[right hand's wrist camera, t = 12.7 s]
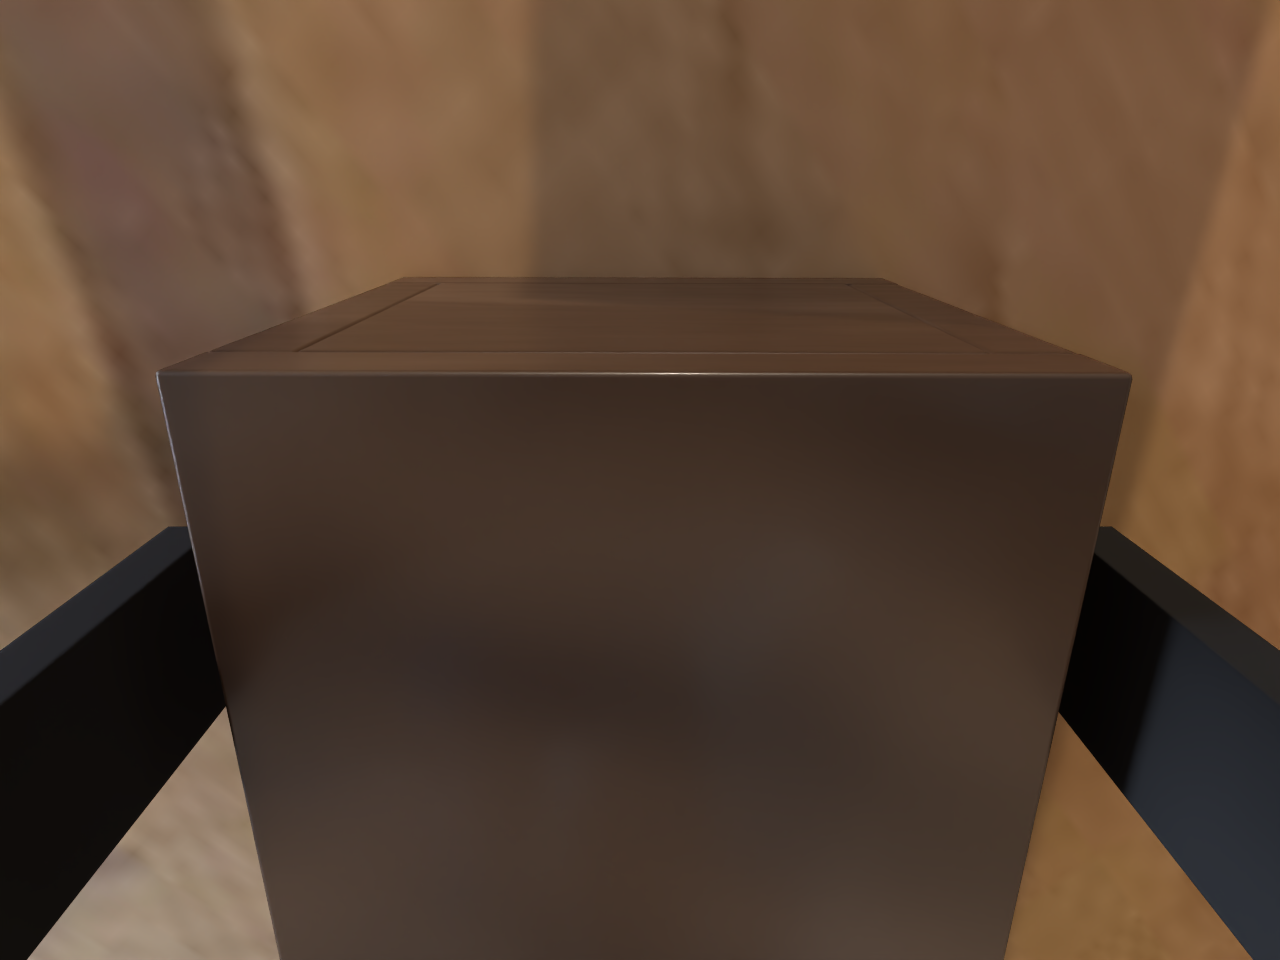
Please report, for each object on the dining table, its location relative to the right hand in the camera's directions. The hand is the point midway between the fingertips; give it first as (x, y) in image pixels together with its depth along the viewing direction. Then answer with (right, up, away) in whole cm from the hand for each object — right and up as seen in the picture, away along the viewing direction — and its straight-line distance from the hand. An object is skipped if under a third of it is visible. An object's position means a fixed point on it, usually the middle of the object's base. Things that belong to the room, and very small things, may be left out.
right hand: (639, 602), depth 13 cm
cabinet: (0, -4, +8) cm, 9 cm away
